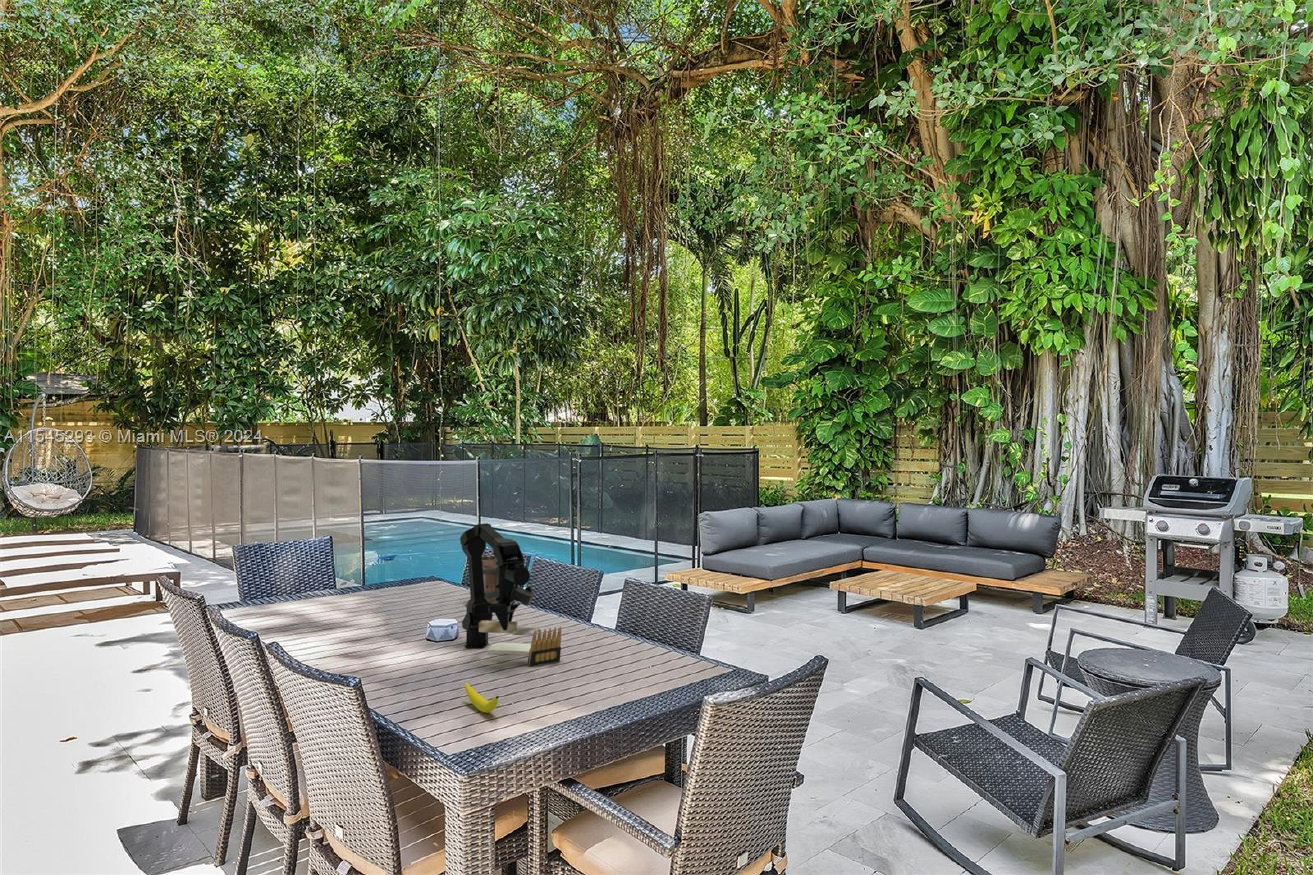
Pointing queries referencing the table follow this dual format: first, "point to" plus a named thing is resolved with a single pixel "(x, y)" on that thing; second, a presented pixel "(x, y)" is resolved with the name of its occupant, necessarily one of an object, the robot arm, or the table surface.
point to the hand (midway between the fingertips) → (506, 628)
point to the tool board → (510, 648)
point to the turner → (512, 628)
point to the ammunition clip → (545, 648)
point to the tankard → (490, 578)
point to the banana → (480, 700)
